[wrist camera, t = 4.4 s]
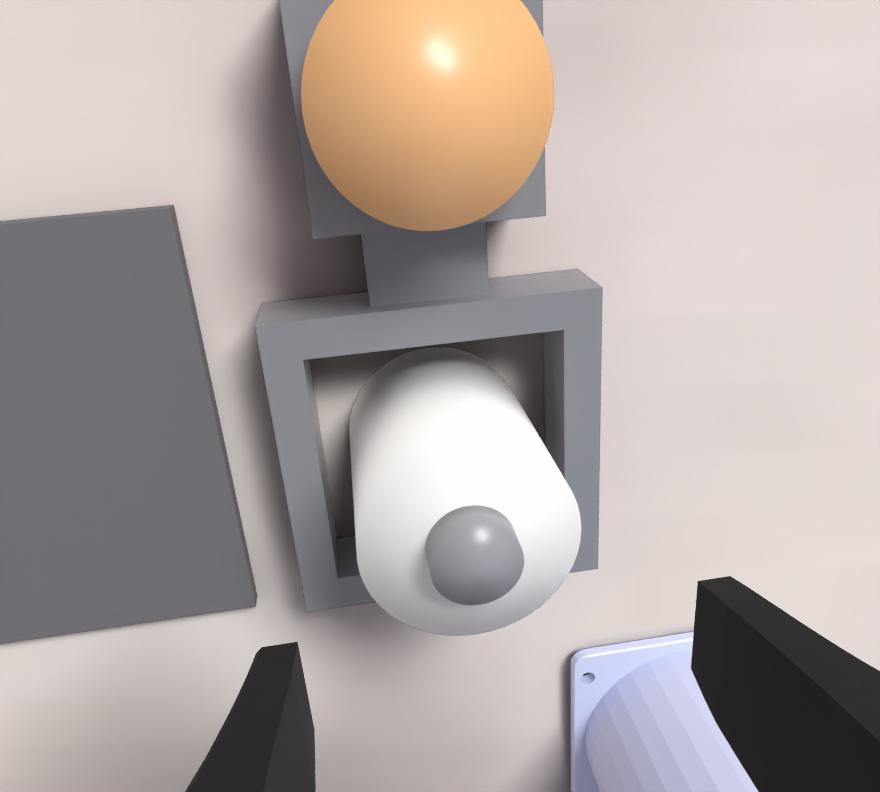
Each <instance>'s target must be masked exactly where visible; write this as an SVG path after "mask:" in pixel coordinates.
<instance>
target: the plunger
mask: <svg viewBox="0 0 880 792" xmlns="http://www.w3.org/2000/svg"><path fill="white" fill-rule="evenodd" d="M301 103H302V114H303V119H304V124H305V129H306V133H307V136H308V139H309V142H310V145H311V148H312V150H313V152H314V154H315V157H316V159H317V161H318V163H319V165H320V166H321V168H322V169H323V171H324V173H325V174H326V176H327V177H328V179H329V180H330V181H331V182H332V184H333V185H334V186H335V187H336V189H337V190H338V191H339V192H340V193H341V194H342V195H343V196H344V197H345V198H346V199H347V200H349V201H350V202H351V203H352V204H353V205H355V206H356V207H357V208H359V209H360V210H362V211H363V212H364V213H366V214H368V215H370V216H372V217H373V218H375V219H377V220H379V221H382V222H384V223H387V224H390V225H392V226H396V227H400V228H404V229H408V230H418V231H440V230H446V229H452V228H457V227H460V226H463V225H467V224H470V223H472V222H474V221H476V220H479V219H481V218H483V217H485V216H486V215H488V214H490V213H491V212H493V211H494V210H496V209H498V208H499V207H500V206H501V205H503V204H504V203H505V202H506V201H507V200H509V199H510V198H511V197H512V196H513V195H514V194H515V193H516V192H517V191H518V190H519V189H520V187H521V186H522V185H523V184H524V182H525V181H526V180H527V178H528V177H529V176H530V174H531V173H532V171H533V169H534V167H535V166H536V164H537V162H538V160H539V159H540V156H541V154H542V151H543V149H544V147H545V144H546V141H547V138H548V134H549V131H550V128H551V122H552V116H553V110H554V80H553V71H552V66H551V61H550V56H549V53H548V50H547V47H546V44H545V41H544V38H543V36H542V34H541V32H540V30H539V28H538V25H537V23H536V22H535V20H534V19H533V17H532V15H531V14H530V12H529V11H528V9H527V8H526V7H525V5H524V4H523V3H522V2H521V0H334V1H333V3H332V4H331V5H330V6H329V7H328V9H327V10H326V12H325V14H324V15H323V17H322V18H321V20H320V22H319V23H318V25H317V27H316V30H315V32H314V34H313V36H312V38H311V41H310V44H309V47H308V50H307V54H306V57H305V61H304V67H303V73H302V83H301Z"/></svg>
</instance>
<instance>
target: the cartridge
mask: <svg viewBox="0 0 880 792" xmlns="http://www.w3.org/2000/svg"><path fill="white" fill-rule="evenodd" d="M349 434H350V451H351V468H352V485H353V502H354V519H355V537H356V553H357V563H358V568H359V572H360V575H361V578H362V580H363V583H364V585H365V587H366V588H367V590H368V592H369V593H370V595H371V596H372V598H373V599H374V600H375V601H376V603H377V604H378V605H379V606H380V607H381V608H382V609H383V610H385V611H386V612H387V613H388V614H389V615H391V616H392V617H394V618H395V619H397V620H398V621H400V622H402V623H404V624H406V625H408V626H410V627H413V628H415V629H418V630H421V631H425V632H429V633H433V634H440V635H449V636H464V635H473V634H480V633H485V632H489V631H493V630H496V629H499V628H502V627H505V626H507V625H510V624H512V623H514V622H517V621H518V620H520V619H522V618H524V617H526V616H527V615H529V614H531V613H532V612H533V611H535V610H536V609H538V608H539V607H540V606H541V605H543V604H544V603H545V602H546V601H547V600H548V599H549V598H550V597H551V596H552V595H553V594H554V593H555V592H556V591H557V590H558V589H559V587H560V586H561V585H562V583H563V582H564V580H565V579H566V578H567V576H568V574H569V572H570V570H571V568H572V567H573V564H574V562H575V559H576V556H577V554H578V550H579V545H580V540H581V517H580V512H579V508H578V504H577V502H576V499H575V497H574V494H573V492H572V490H571V489H570V487H569V485H568V484H567V482H566V480H565V479H564V477H563V475H562V474H561V472H560V470H559V469H558V467H557V465H556V464H555V462H554V460H553V458H552V457H551V455H550V453H549V452H548V450H547V448H546V447H545V445H544V443H543V442H542V440H541V438H540V437H539V435H538V433H537V432H536V430H535V428H534V427H533V425H532V423H531V421H530V420H529V418H528V416H527V415H526V413H525V411H524V410H523V408H522V406H521V405H520V403H519V401H518V400H517V398H516V396H515V395H514V393H513V391H512V389H511V388H510V386H509V384H508V383H507V381H506V380H505V378H504V377H503V376H502V375H501V373H500V372H499V371H498V370H497V369H496V368H494V367H493V366H492V365H491V364H490V363H488V362H487V361H485V360H484V359H482V358H480V357H478V356H476V355H474V354H472V353H469V352H466V351H463V350H459V349H454V348H445V347H432V348H424V349H418V350H414V351H411V352H408V353H405V354H403V355H401V356H398V357H396V358H394V359H393V360H391V361H389V362H388V363H386V364H384V365H383V366H382V367H381V368H379V369H378V370H377V371H376V372H375V373H374V374H373V375H372V376H371V377H370V378H369V379H368V380H367V382H366V383H365V384H364V386H363V387H362V388H361V390H360V392H359V394H358V396H357V397H356V400H355V402H354V405H353V408H352V412H351V416H350V424H349Z"/></svg>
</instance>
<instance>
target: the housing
mask: <svg viewBox="0 0 880 792" xmlns="http://www.w3.org/2000/svg"><path fill="white" fill-rule="evenodd" d="M333 1H334V0H279V3H280V10H281V17H282V24H283V31H284V39H285V46H286V53H287V60H288V67H289V74H290V81H291V88H292V95H293V102H294V109H295V116H296V123H297V130H298V137H299V144H300V151H301V158H302V165H303V172H304V179H305V186H306V193H307V201H308V208H309V215H310V222H311V229H312V236H313V239H320V238H330V237H340V236H350V235H360V234H361V238H362V247H363V255H364V264H365V273H366V281H367V290H368V292H359V293H349V294H340V295H331V296H322V297H312V298H303V299H294V300H284V301H275V302H266V303H262V304H261V307H260V311H259V314H258V317H257V320H256V324H255V330H256V335H257V341H258V346H259V351H260V357H261V362H262V368H263V373H264V379H265V384H266V390H267V395H268V401H269V406H270V412H271V417H272V423H273V428H274V434H275V439H276V445H277V450H278V456H279V461H280V467H281V472H282V478H283V483H284V489H285V494H286V500H287V505H288V511H289V516H290V522H291V527H292V532H293V538H294V543H295V549H296V554H297V560H298V565H299V571H300V576H301V582H302V587H303V593H304V598H305V604H306V609H307V612H311V611H317V610H324V609H331V608H337V607H344V606H351V605H358V604H364V603H371V602H376V601H375V600H374V599H373V598H372V596H371V595H370V593H369V592H368V590H367V588H366V587H365V585H364V583H363V580H362V578H361V575H360V572H359V568H358V563H357V553H356V537H355V536H350V537H343V538H337V536H336V530H335V523H334V517H333V510H332V504H331V497H330V491H329V484H328V478H327V471H326V465H325V458H324V452H323V445H322V439H321V432H320V426H319V419H318V413H317V406H316V400H315V393H314V387H313V380H312V374H311V367H310V361H309V359H316V358H325V357H333V356H342V355H351V354H359V353H368V352H377V351H385V350H394V349H403V348H411V347H420V346H429V345H437V344H446V343H454V342H463V341H472V340H480V339H489V338H498V337H506V336H515V335H524V334H532V333H541V332H544V389H545V447H546V448H547V450H548V452H549V453H550V455H551V457H552V458H553V460H554V462H555V464H556V465H557V467H558V469H559V470H560V472H561V474H562V475H563V477H564V479H565V480H566V482H567V484H568V485H569V487H570V489H571V490H572V492H573V494H574V497H575V499H576V502H577V504H578V508H579V512H580V517H581V540H580V545H579V550H578V554H577V556H576V559H575V562H574V564H573V567H572V568H571V570H570V572H569V573H573V572H579V571H586V570H593V569H598V532H599V471H600V410H601V349H602V289H603V287H601V286H600V285H599V284H597V283H596V282H595V281H593V280H592V279H591V278H589V277H588V276H587V275H585V274H584V273H583V272H581V271H580V270H579V269H573V270H563V271H554V272H545V273H535V274H526V275H517V276H507V277H498V278H489V279H488V266H487V245H486V224H485V222H490V221H500V220H510V219H520V218H530V217H540V216H546V192H545V147H544V149H543V151H542V154H541V156H540V159H539V160H538V162H537V164H536V166H535V167H534V169H533V171H532V173H531V174H530V176H529V177H528V178H527V180H526V181H525V182H524V184H523V185H522V186H521V187H520V189H519V190H518V191H517V192H516V193H515V194H514V195H513V196H512V197H511V198H510V199H509V200H507V201H506V202H505V203H504V204H503V205H501V206H500V207H499V208H498V209H496V210H494V211H493V212H491V213H490V214H488V215H486V216H485V217H483V218H481V219H479V220H476V221H474V222H472V223H470V224H467V225H463V226H460V227H457V228H452V229H446V230H440V231H418V230H408V229H404V228H400V227H396V226H392V225H390V224H387V223H384V222H382V221H379V220H377V219H375V218H373V217H372V216H370V215H368V214H366V213H364V212H363V211H362V210H360V209H359V208H357V207H356V206H355V205H353V204H352V203H351V202H350V201H349V200H347V199H346V198H345V197H344V196H343V195H342V194H341V193H340V192H339V191H338V190H337V189H336V187H335V186H334V185H333V184H332V182H331V181H330V180H329V179H328V177H327V176H326V174H325V173H324V171H323V169H322V168H321V166H320V165H319V163H318V161H317V159H316V157H315V154H314V152H313V150H312V148H311V145H310V142H309V139H308V136H307V133H306V129H305V124H304V119H303V114H302V103H301V83H302V73H303V67H304V61H305V57H306V54H307V50H308V47H309V44H310V41H311V38H312V36H313V34H314V32H315V30H316V27H317V25H318V23H319V22H320V20H321V18H322V17H323V15H324V14H325V12H326V10H327V9H328V7H329V6H330V5H331V4H332V3H333ZM521 2H522V3H523V4H524V5H525V7H526V8H527V9H528V11H529V12H530V14H531V15H532V17H533V19H534V20H535V22H536V23H537V25H538V28H539V30H540V32H541V34H542V36H543V0H521Z"/></svg>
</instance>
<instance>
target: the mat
mask: <svg viewBox="0 0 880 792" xmlns="http://www.w3.org/2000/svg"><path fill="white" fill-rule="evenodd" d="M256 601H257V592H256V588H255V583H254V578H253V574H252V569H251V564H250V560H249V555H248V550H247V546H246V541H245V536H244V532H243V527H242V522H241V518H240V513H239V508H238V504H237V499H236V494H235V490H234V485H233V480H232V476H231V471H230V466H229V462H228V457H227V452H226V448H225V443H224V438H223V433H222V429H221V424H220V419H219V415H218V410H217V405H216V401H215V396H214V391H213V387H212V382H211V377H210V373H209V368H208V363H207V359H206V354H205V349H204V345H203V340H202V335H201V331H200V326H199V321H198V317H197V312H196V307H195V303H194V298H193V293H192V289H191V284H190V279H189V275H188V270H187V265H186V261H185V256H184V251H183V247H182V242H181V237H180V233H179V228H178V223H177V219H176V214H175V209H174V205H168V206H158V207H147V208H136V209H126V210H115V211H104V212H94V213H83V214H72V215H62V216H51V217H40V218H30V219H19V220H8V221H0V644H3V643H10V642H17V641H24V640H30V639H37V638H44V637H51V636H58V635H64V634H71V633H78V632H85V631H92V630H98V629H105V628H112V627H119V626H126V625H132V624H139V623H146V622H153V621H160V620H166V619H173V618H180V617H187V616H194V615H200V614H207V613H214V612H221V611H228V610H234V609H241V608H248V607H255V606H256Z"/></svg>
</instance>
